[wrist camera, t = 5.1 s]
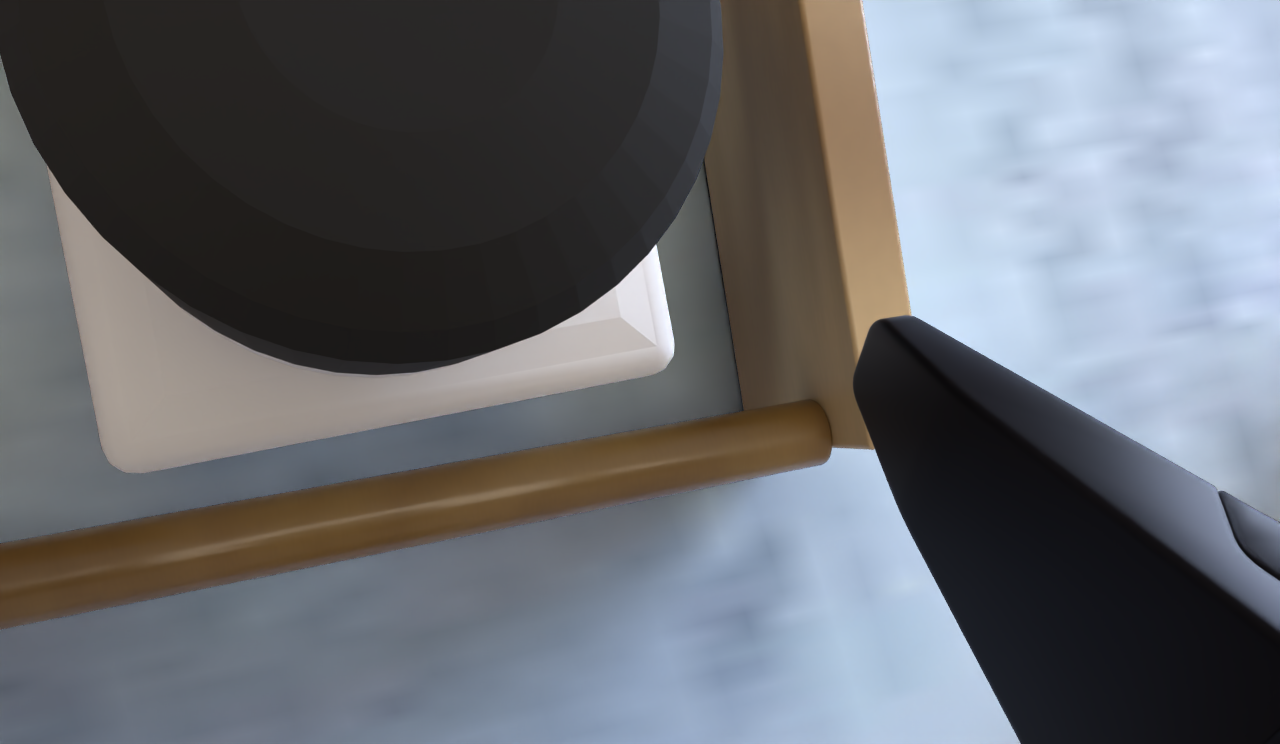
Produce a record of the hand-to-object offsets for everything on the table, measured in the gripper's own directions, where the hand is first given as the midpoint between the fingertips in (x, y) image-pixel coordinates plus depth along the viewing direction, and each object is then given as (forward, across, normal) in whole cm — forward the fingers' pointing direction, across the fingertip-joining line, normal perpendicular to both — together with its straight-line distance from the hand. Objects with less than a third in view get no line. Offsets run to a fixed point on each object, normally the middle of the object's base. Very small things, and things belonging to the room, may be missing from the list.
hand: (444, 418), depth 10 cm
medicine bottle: (+10, 0, +5) cm, 11 cm away
